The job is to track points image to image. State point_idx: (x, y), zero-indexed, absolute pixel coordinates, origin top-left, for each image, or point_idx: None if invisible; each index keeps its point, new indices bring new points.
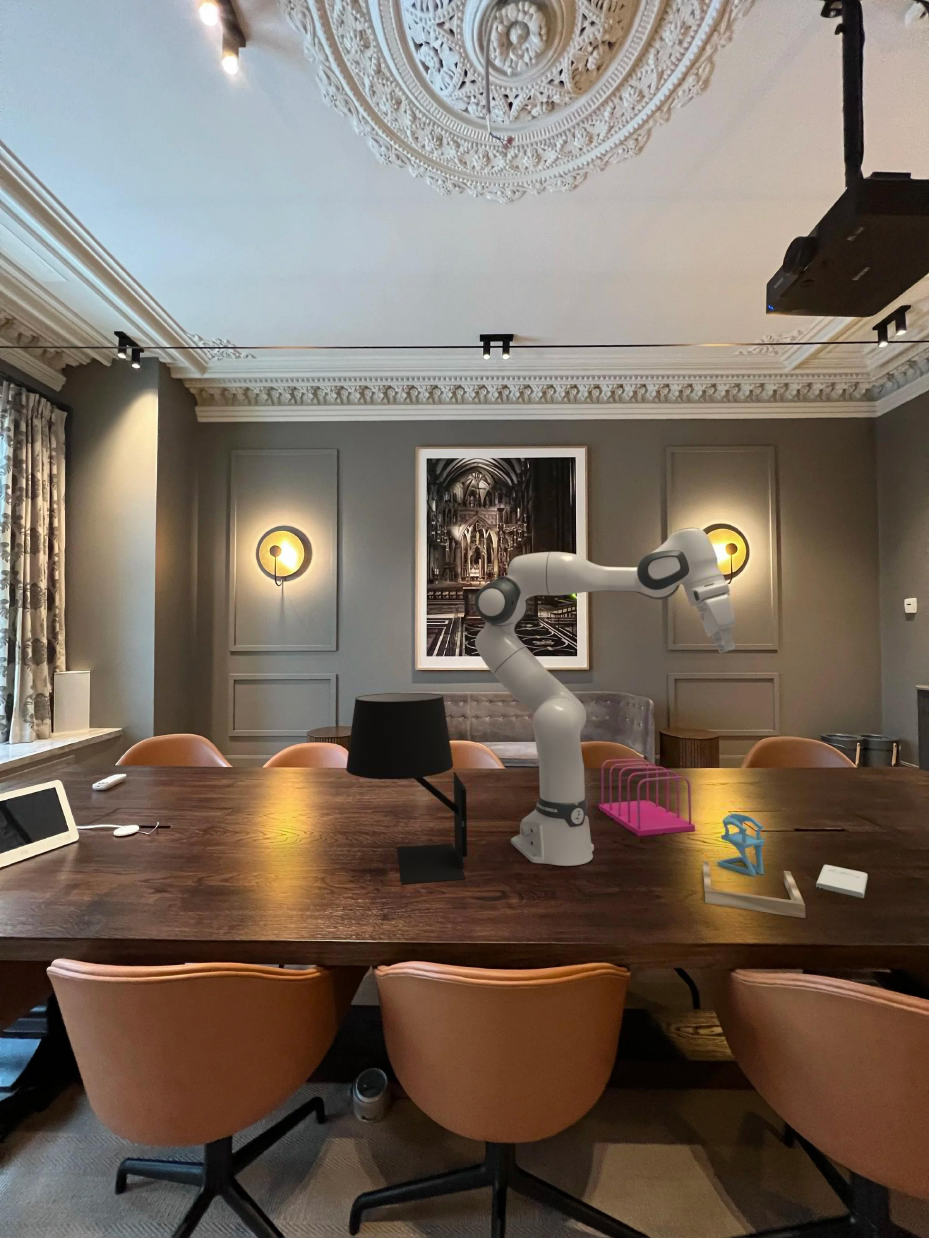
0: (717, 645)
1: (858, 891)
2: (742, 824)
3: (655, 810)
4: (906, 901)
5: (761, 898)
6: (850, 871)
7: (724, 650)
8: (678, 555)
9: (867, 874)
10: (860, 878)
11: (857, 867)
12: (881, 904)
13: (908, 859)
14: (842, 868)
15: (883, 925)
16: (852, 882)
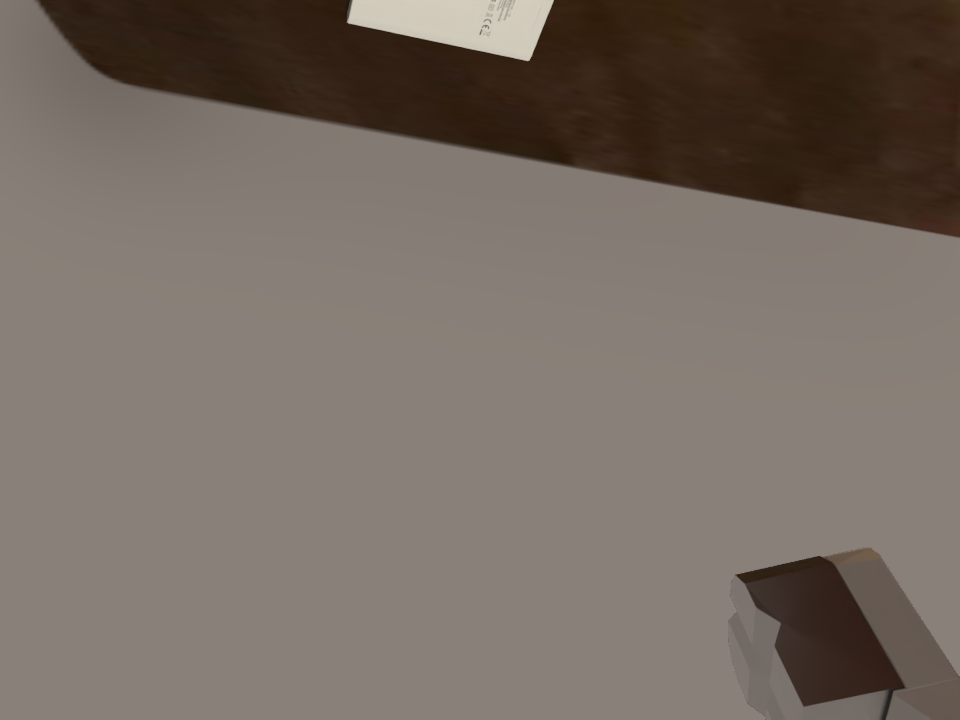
0: (902, 706)
1: (352, 14)
2: None
3: None
4: (377, 109)
5: None
6: (526, 20)
7: (744, 642)
8: None
9: (526, 60)
10: (472, 37)
11: (609, 42)
12: (321, 50)
13: (710, 173)
14: (548, 2)
15: (165, 28)
16: (426, 10)
